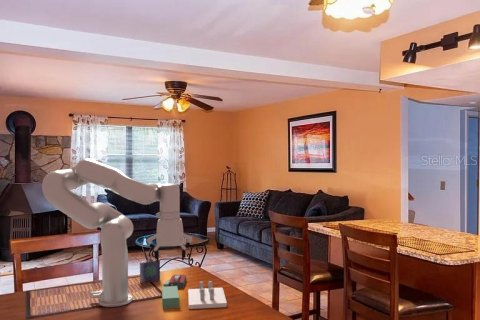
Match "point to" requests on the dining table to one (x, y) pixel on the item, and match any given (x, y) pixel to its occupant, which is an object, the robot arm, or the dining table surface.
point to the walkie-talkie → (176, 281)
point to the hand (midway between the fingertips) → (170, 260)
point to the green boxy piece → (170, 297)
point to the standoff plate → (206, 297)
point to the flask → (149, 270)
